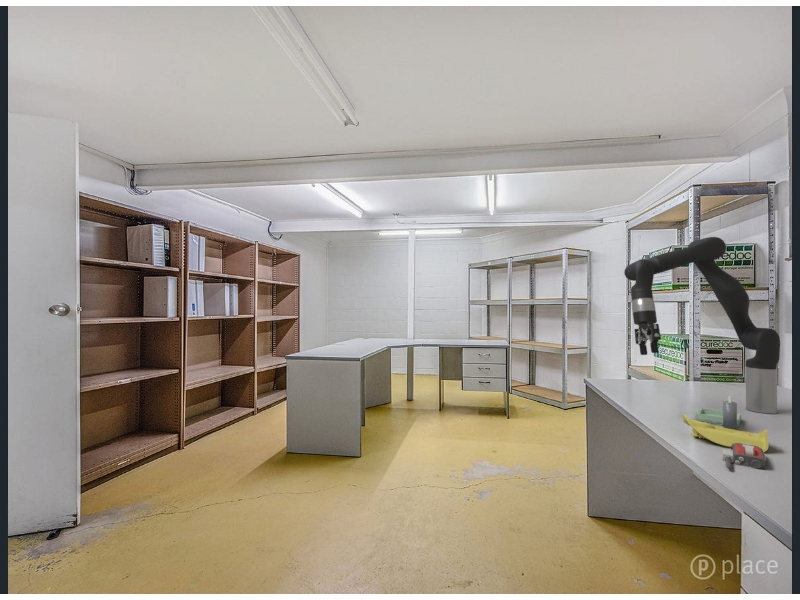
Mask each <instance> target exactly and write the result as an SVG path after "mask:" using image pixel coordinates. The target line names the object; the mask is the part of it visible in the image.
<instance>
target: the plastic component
mask: <svg viewBox="0 0 800 600" xmlns="http://www.w3.org/2000/svg"><path fill="white" fill-rule="evenodd" d="M681 418H682V421H683V422H684V424H686V425H687V426H690V427H691V428H692V433H691V434H692V435H691V436H692V437H693V438H695V437H700V438H699V439H701V438H703V440H705V439H706V440H708V441H711V442H712V443H714V444H717V445H721V446H724V447H727V448H730V446H732V444H734V443H741V444H742V443H746V444H752V445H753V446H758V447H759V448H761V449H763V452H764V453H765V452H767V450H768V449H769V434H768V430H767V429H763V430H761V431H760V432H759V433H754V432H753V433H752V432H747V431H741V430H738V429H737V430H733V429H728V428H723V426H717V425H712V423H707V422H701V421H698V420H695V419H689V418H688V416H687V414H682V415H681Z"/></svg>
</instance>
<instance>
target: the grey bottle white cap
mask: <svg viewBox="0 0 800 600" xmlns="http://www.w3.org/2000/svg"><path fill="white" fill-rule="evenodd" d="M732 399H733V398H732V396H731V395H728V396H727V400H726V401H722V411H723V425H722V427H723V428H728V429H733V430H738V428H737V413H738V403H737V402H734V401H732Z"/></svg>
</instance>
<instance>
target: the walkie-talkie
mask: <svg viewBox="0 0 800 600" xmlns="http://www.w3.org/2000/svg"><path fill="white" fill-rule="evenodd" d="M722 451H723V452H722V462H725V467H726V469H728V470H731V469H732V464H734V463H735V465H738V466H739V465H740V466H745V467H749V468H754V469H761V470H767V469H768V468H767V467H768V461H767V458H766V454H765V452H763V449H761V448H759V447H758V446H753V445H752V444H746V443H742V444H741V443H734V444H732V446H730V447H729V448H727V449H723V450H722Z"/></svg>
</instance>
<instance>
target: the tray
mask: <svg viewBox="0 0 800 600" xmlns="http://www.w3.org/2000/svg"><path fill="white" fill-rule="evenodd" d="M694 420H698V421H700V422H701V421H704V422H705V423H707V422H709V423H708V424H713V423H714V425H719V424H720V425H721V426H723V410H719V409H713V408H707V407H698V409H697V410H696V411H695V413H694ZM741 421H742V413H740V412H737V427H738V428H737V429H739V428H740V426H741V425H740V424H741ZM720 425H719V426H720Z"/></svg>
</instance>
